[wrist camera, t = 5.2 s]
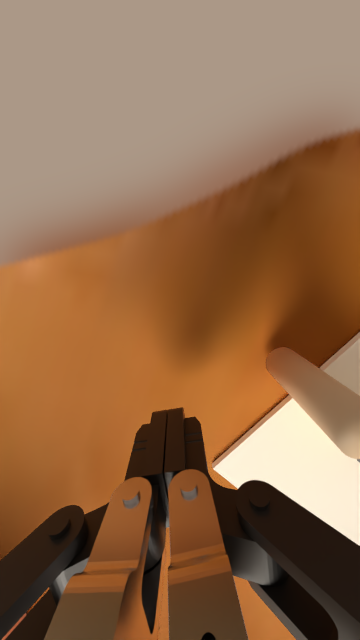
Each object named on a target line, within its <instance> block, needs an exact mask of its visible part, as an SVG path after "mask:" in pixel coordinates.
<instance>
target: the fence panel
mask: <svg viewBox="0 0 360 640" xmlns="http://www.w3.org/2000/svg"><path fill="white" fill-rule="evenodd" d="M266 368H267V370H268V372H269V373H270V374H271V375H272V376H273V377H274V378H275V379H276V380H277V381H278V383H279V384H280V385H281V386H282V387H283V388H284V389H285V390H286V391H287V392H288V393H289V395H290V396H291V397H292V398H293V399H294V400H295V401H296V402H297V403H298V404H299V406H300V407H301V408H302V409H303V410H304V411H305V412H306V413H307V414H308V415H309V416H310V418H311V419H312V420H313V421H314V422H315V423H316V424H317V425H318V426H319V427H320V428H321V430H322V431H323V432H324V433H325V434H326V435H327V436H328V437H329V438H330V439H331V440H332V442H333V443H334V444H335V445H336V446H337V447H338V448H339V449H340V450H341V451H342V452H343V453H344V454H345V455H346V456H348V457H351V458H354V459H360V396H359V395H358V394H356V393H355V392H353V391H352V390H350V389H349V388H347V387H346V386H344V385H343V384H341V383H340V382H339V381H337V380H336V379H334V378H333V377H331V376H330V375H328V374H327V373H325V372H324V371H322V370H321V369H319V368H318V367H316V366H315V365H314V364H312V363H311V362H309V361H308V360H306V359H305V358H303V357H302V356H300V355H299V354H297V353H296V352H294V351H293V350H291V349H290V348H287V347H280V348H276V349H274V350H273V351H272V352H270V354H269V355H268V357H267V359H266Z"/></svg>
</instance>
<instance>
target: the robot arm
mask: <svg viewBox="0 0 360 640" xmlns="http://www.w3.org/2000/svg"><path fill="white" fill-rule="evenodd" d="M167 527H170V553H171V564H170V566H169V567H168V612H169V640H248V636H247V632H246V628H245V624H244V620H243V616H242V611H241V607H240V603H239V599H238V595H237V591H236V587H235V582H234V578H233V575H234V576H237V577H240V578H243V579H246V580H248V582H249V584H250V585H251V587H252V588H253V590H254V591H255V592H256V593H257V594H258V596H259V597H260V598H261V599H262V600H263V601H264V603H265V604H266V605H267V606H268V607H269V608H270V609H271V611H272V612H273V613H274V614H275V615H276V616H277V618H278V619H279V620H280V621H281V622H282V623H283V624H284V626H285V627H286V628H287V629H288V630H289V631H290V633H291V634H292V635H293V636H294V637H295V638H296V640H360V546H359V545H358V544H356V543H355V542H353V541H352V540H350V539H349V538H347V537H346V536H345V535H343V534H342V533H340V532H339V531H337V530H336V529H334V528H333V527H331V526H330V525H329V524H327V523H326V522H324V521H323V520H321V519H320V518H318V517H317V516H315V515H314V514H313V513H311V512H310V511H308V510H307V509H305V508H304V507H302V506H301V505H299V504H298V503H297V502H295V501H294V500H292V499H291V498H289V497H288V496H286V495H285V494H283V493H282V492H281V491H279V490H278V489H276V488H275V487H273V486H272V485H270V484H269V483H266V482H264V481H260V480H250V481H247V482H245V483H243V484H242V485H241V486H240V487H239V488H238V490H234V489H228V488H225V487H222V486H220V485H218V484H217V483H215V482H214V481H213V480H212V479H211V477H210V475H209V473H208V468H207V461H206V455H205V448H204V442H203V436H202V430H201V424H200V422H199V421H198V420H197V419H196V417H190V418H185V414H184V409H183V407H182V408H176V409H169V410H163V411H156V412H153V413H152V417H151V423H150V424H144V425H142V426H141V428H140V429H139V430H138V432H137V433H136V437H135V441H134V445H133V449H132V453H131V457H130V461H129V465H128V469H127V473H126V477H125V481H124V482H123V483H121V484H120V485H119V486H118V487H117V488H116V490H115V491H114V493H113V494H112V497H111V499H110V502H109V503H107V504H106V505H104V506H102V507H100V508H98V509H96V510H94V511H91V512H89V513H87V514H85V515H84V512H83V510H82V508H81V507H79V506H76V505H70V506H66V507H64V508H61V509H60V510H58V511H56V512H55V513H54V514H52V515H51V516H50V517H49V518H48V519H47V520H45V521H44V522H43V523H42V524H41V525H40V526H39V527H38V528H37V529H35V530H34V531H33V532H32V533H31V534H30V535H29V536H28V537H26V538H25V539H24V540H23V541H22V542H21V543H20V544H19V545H17V546H16V547H15V548H14V549H13V550H12V551H11V552H10V553H9V554H7V555H6V556H5V557H4V558H3V559H2V560H1V561H0V640H2V638H3V637H4V636H5V635H6V634H7V633H8V632H9V631H10V630H11V628H12V627H13V626H14V625H15V624H16V623H17V622H18V621H19V619H20V618H21V617H22V616H23V615H24V614H25V613H26V612H27V611H28V609H29V608H30V607H31V606H32V605H33V604H34V603H35V602H36V600H37V599H38V598H39V597H40V596H41V595H42V594H43V593H44V592H45V590H46V589H47V588H48V587H49V588H50V589H49V590H48V591H47V593H46V594H45V595H44V596H43V597H42V598H41V599H40V600H39V602H38V603H37V604H36V605H35V606H34V607H33V608H32V609H31V611H30V612H29V613H28V614H27V615H26V616H25V617H24V619H23V620H22V621H21V622H20V623H19V624H18V625H17V626H16V628H15V629H14V630H13V631H12V632H11V633H10V634H9V635H8V637H7V638H6V639H5V640H158V633H159V623H160V613H161V603H162V592H163V582H164V572H165V562H166V548H165V536H166V528H167Z"/></svg>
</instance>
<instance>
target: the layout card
mask: <svg viewBox="0 0 360 640" xmlns="http://www.w3.org/2000/svg"><path fill="white" fill-rule="evenodd" d="M319 369H321V370H322V371H324V372H325V373H327V374H328V375H330V376H331V377H333V378H334V379H336V380H337V381H339V382H340V383H341V384H343V385H344V386H346V387H347V388H349V389H350V390H352V391H353V392H355V393H356V394H358V395H359V396H360V332H359V333H358V334H357V335H356V336H354V337H353V338H352V339H351V340H350V341H349V342H348V343H347V344H345V345H344V346H343V347H342V348H341V349H340V350H339V351H338V352H336V353H335V354H334V355H333V356H332V357H331V358H330V359H329V360H327V361H326V362H325V363H324V364H323V365H322V366H321V367H320V368H319ZM212 467H213V469H214V470H215V471H216V472H218V473H219V474H220V475H222V476H223V477H224V478H225V479H227V480H228V481H229V482H230V483H232V484H233V485H234V486H235V487H237V488H239V487H240V486H241V485H242V484H243V483H245V482H247V481H250V480H260V481H264V482H266V483H269V484H270V485H272V486H273V487H275V488H276V489H278V490H279V491H281V492H282V493H283V494H285V495H286V496H288V497H289V498H291V499H292V500H294V501H295V502H297V503H298V504H299V505H301V506H302V507H304V508H305V509H307V510H308V511H310V512H311V513H313V514H314V515H315V516H317V517H318V518H320V519H321V520H323V521H324V522H326V523H327V524H329V525H330V526H331V527H333V528H334V529H336V530H337V531H339V532H340V533H342V534H343V535H345V536H346V537H347V538H349V539H350V540H352V541H353V542H355V543H356V544H358V545H359V546H360V459H354V458H351V457H348V456H346V455H345V454H344V453H343V452H342V451H341V450H340V449H339V448H338V447H337V446H336V445H335V444H334V443H333V442H332V440H331V439H330V438H329V437H328V436H327V435H326V434H325V433H324V432H323V431H322V430H321V428H320V427H319V426H318V425H317V424H316V423H315V422H314V421H313V420H312V419H311V418H310V416H309V415H308V414H307V413H306V412H305V411H304V410H303V409H302V408H301V407H300V406H299V404H298V403H297V402H296V401H295V400H294V399H293V398H292V397H291V396H290V395H288V396H287V397H286V398H285V399H284V400H283V401H282V402H280V403H279V404H278V405H277V406H276V407H275V408H274V409H273V410H271V411H270V412H269V413H268V414H267V415H266V416H265V417H264V418H262V419H261V420H260V421H259V422H258V423H257V424H256V425H255V426H254V427H252V428H251V429H250V430H249V431H248V432H247V433H246V434H245V435H243V436H242V437H241V438H240V439H239V440H238V441H237V442H236V443H234V444H233V445H232V446H231V447H230V448H229V449H228V450H227V451H225V452H224V453H223V454H222V455H221V456H220V457H219V458H218V459H217V460H215V461H214V462H213V463H212Z"/></svg>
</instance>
